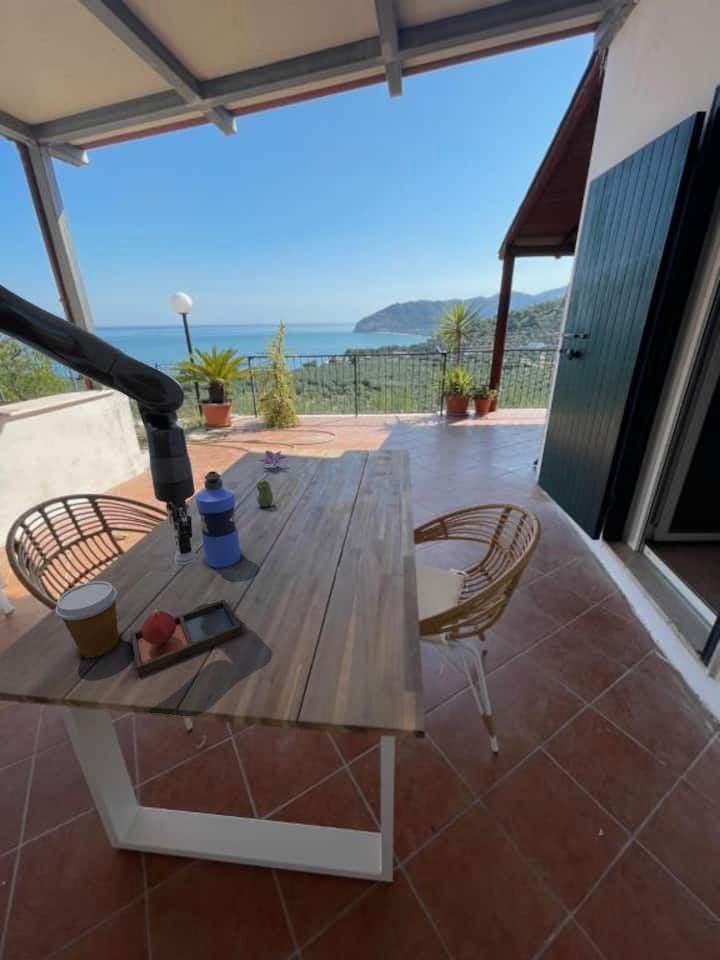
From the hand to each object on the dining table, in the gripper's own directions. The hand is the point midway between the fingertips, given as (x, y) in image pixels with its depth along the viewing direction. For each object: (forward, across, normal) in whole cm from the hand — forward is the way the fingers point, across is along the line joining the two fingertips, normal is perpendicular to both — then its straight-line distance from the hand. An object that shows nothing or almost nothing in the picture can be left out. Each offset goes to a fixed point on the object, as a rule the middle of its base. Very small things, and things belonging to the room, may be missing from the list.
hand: (184, 548), depth 85 cm
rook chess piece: (+3, 0, 0) cm, 3 cm away
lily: (+13, -79, +54) cm, 96 cm away
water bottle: (+14, -14, +11) cm, 23 cm away
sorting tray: (+14, +12, -4) cm, 18 cm away
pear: (+13, -41, +34) cm, 55 cm away
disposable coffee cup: (+14, +4, -18) cm, 23 cm away
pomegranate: (+13, +12, -8) cm, 19 cm away
